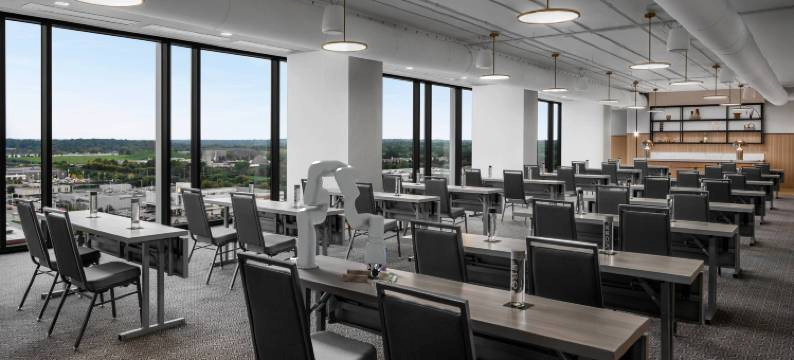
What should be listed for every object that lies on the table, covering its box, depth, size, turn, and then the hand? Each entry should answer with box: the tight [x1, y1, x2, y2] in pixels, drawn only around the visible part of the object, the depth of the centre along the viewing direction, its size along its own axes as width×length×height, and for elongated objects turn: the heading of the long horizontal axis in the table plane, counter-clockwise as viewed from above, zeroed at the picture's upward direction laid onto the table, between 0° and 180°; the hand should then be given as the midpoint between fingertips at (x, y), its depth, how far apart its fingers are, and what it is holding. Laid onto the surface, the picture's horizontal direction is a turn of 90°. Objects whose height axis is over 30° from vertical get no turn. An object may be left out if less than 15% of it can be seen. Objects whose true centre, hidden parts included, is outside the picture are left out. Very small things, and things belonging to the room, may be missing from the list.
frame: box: [372, 274, 398, 284], centre depth 287 cm, size 10×12×1 cm
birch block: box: [378, 270, 391, 281], centre depth 287 cm, size 5×5×4 cm
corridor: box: [342, 268, 372, 283], centre depth 288 cm, size 12×12×3 cm
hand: (374, 276), depth 287 cm, fingers closed
